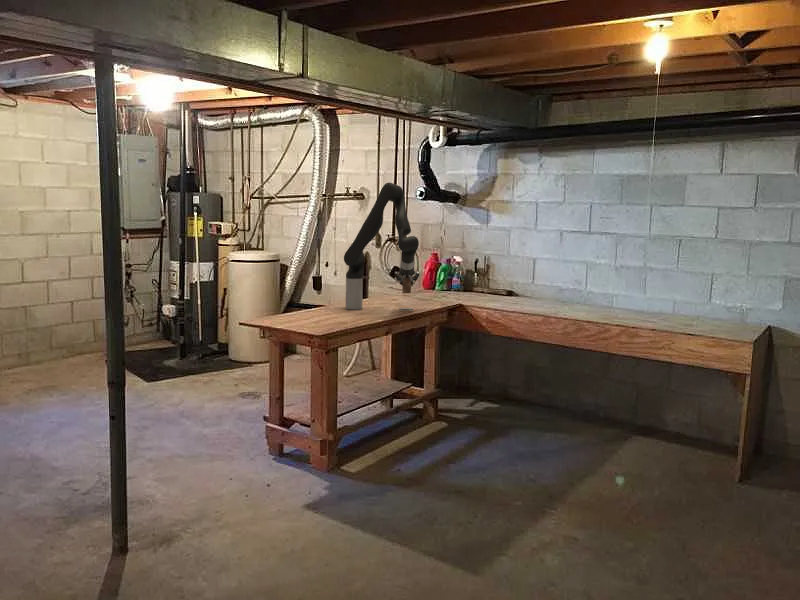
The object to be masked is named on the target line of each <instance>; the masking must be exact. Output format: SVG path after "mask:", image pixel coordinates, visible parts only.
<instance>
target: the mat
mask: <svg viewBox="0 0 800 600" xmlns="http://www.w3.org/2000/svg"><path fill="white" fill-rule="evenodd" d="M398 311H401V312H403V311H404V312H405V311H406V312H407V311H408V312H411V311H412V312H414V308H411V307H409V308H407V307H398Z"/></svg>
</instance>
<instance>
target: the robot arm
mask: <svg viewBox="0 0 800 600" xmlns="http://www.w3.org/2000/svg"><path fill="white" fill-rule="evenodd" d="M389 202H392V204H393V205H394V207H395V215H394V216H395V217H394V225H395V227H396V230H397V234H398V235H397V236H398V243H397V244H398V245H397V246H398V249H399V250H400V251H401V254H400V255H401V256H400V265H399V267H400V269H399V271H398V270H395V271H394V276H395V279H396V281H397V282H398V281H399V284H400V286H402V285H403V280H404V278H406V277H407V278H410V280H411V286H413V285H414V282H416V281H417V280H418V279H419V277H420V271H419V270H417V271H416V270H415V255H416V252H417V250H418V248H419V246H420V245H419V244H420V243H419V242H420V241H419V238H418V237H417V236H415V235H412V236H411V235H410V234H411V233H412V229H411V225H410V221H409V218H408V215H407V209H406V207H407V206H406V201H405V195H404V190H403V188H402V187H401V186H400V185H398V184H395V183H393V182H386V183H385V184H384V185H383V186H382V188H381V189H380V191H379V194H378V196H377V198H376V200H375V202H374V203H373V206H372V208H371V210H370V212H369V214H368V215H367V217H366V219H365V220H364V222H363V224H362V226H361V228H360V229H359V231H358V232H357V235H356V236H355V238H354V240H353V242H352V243H351V245H349V247H348V248H347V250H346V251H345V252H344V256H343V262H344V264H345V265H346V266H348V269H347V271H346V274H345V310H354V311H356V310H357V311H358V310H363V290H364V289H363V286H364V285H363V284H364V283H363V278H364V277H363V275H364V272H365V254H364V252H363V251H364V249H365V248H367V246H368V244H369V243H371V242H372V240H374V238H375V237H376V236H377V234H378V233H379V231H380V230H381V228H382V226H383V223H384V211H385V208H386V206H387V204H388V203H389ZM408 235H410V236H408ZM399 275H400V276H399Z"/></svg>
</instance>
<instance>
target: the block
mask: <svg viewBox="0 0 800 600" xmlns="http://www.w3.org/2000/svg"><path fill="white" fill-rule="evenodd" d="M401 286H402V288H401V289H402V294H411V292H412V287H411V286H412V285H411V280H410V278H407V277H406V278H404V280H403V285H401Z"/></svg>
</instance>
